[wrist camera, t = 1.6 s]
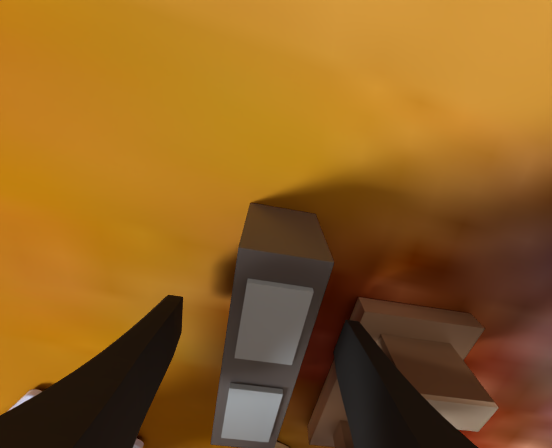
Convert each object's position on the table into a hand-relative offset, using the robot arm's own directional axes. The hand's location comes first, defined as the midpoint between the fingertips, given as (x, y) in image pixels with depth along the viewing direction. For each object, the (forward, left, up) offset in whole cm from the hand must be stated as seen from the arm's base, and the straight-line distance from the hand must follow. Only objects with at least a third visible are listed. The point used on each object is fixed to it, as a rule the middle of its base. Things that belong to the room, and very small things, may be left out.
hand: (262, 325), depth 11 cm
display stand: (+1, -9, -2) cm, 9 cm away
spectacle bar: (0, 0, -2) cm, 2 cm away
